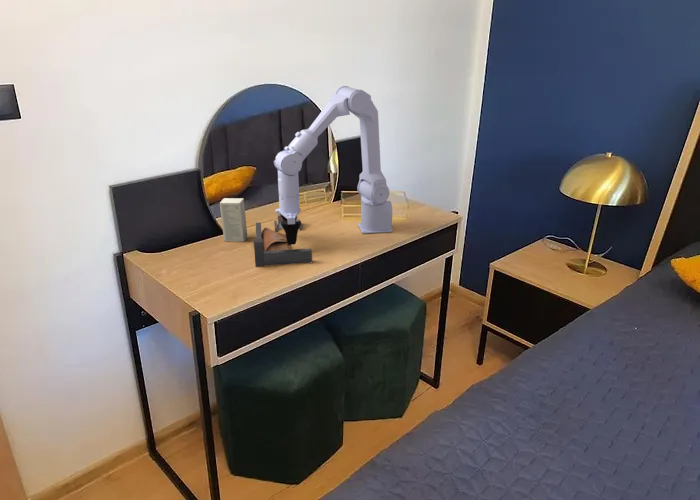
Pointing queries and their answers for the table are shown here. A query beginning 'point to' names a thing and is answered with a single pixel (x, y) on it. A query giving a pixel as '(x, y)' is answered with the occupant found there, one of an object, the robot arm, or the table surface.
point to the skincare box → (233, 219)
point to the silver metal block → (280, 221)
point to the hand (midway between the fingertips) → (290, 239)
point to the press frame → (278, 252)
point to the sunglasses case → (274, 240)
